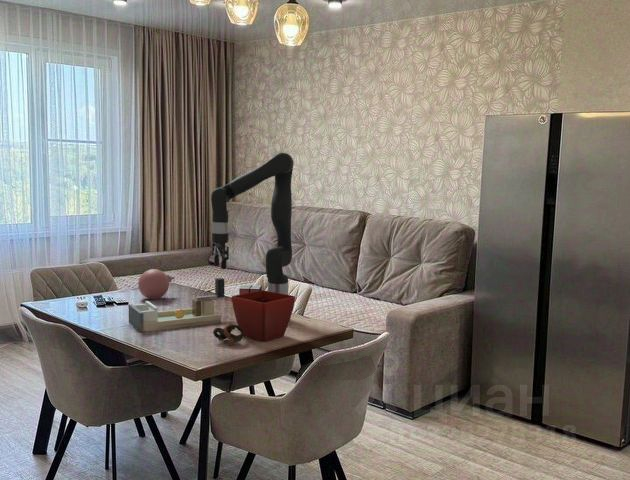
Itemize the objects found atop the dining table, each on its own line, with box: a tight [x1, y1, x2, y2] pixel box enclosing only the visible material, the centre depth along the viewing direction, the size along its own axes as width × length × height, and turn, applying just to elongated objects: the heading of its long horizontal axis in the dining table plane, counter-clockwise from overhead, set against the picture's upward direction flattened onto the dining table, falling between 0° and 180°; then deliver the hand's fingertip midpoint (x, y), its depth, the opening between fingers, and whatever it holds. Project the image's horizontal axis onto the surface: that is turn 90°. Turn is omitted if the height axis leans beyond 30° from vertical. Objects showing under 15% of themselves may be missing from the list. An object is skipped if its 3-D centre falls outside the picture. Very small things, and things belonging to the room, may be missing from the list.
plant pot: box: [231, 289, 296, 342], centre depth 259 cm, size 19×19×17 cm
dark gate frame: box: [191, 277, 226, 317], centre depth 286 cm, size 5×14×16 cm, turn 121°
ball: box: [174, 308, 185, 319], centre depth 280 cm, size 4×4×4 cm
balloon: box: [137, 268, 175, 300], centre depth 327 cm, size 15×20×15 cm
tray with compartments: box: [128, 300, 222, 333], centre depth 279 cm, size 18×36×9 cm, turn 121°
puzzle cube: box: [238, 284, 263, 295], centre depth 312 cm, size 10×10×10 cm
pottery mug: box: [212, 323, 244, 347], centre depth 249 cm, size 12×10×8 cm
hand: (220, 267), depth 287 cm, fingers open, 8 cm apart
